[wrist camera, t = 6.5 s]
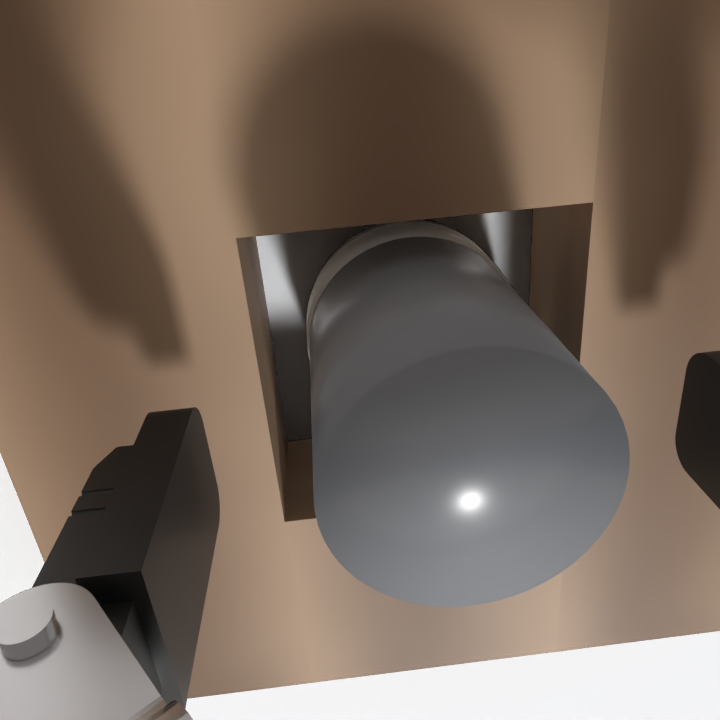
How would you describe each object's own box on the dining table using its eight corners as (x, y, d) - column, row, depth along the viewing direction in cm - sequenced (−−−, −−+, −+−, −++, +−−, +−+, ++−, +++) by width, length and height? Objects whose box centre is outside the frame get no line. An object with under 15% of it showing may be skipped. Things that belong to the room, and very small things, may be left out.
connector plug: (502, 206, 14) (652, 324, 8) (498, 388, 16) (616, 589, 10) (294, 228, 13) (288, 364, 8) (318, 409, 15) (327, 626, 10)
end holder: (822, -143, 11) (984, -204, 9) (687, 542, 18) (753, 626, 16) (-93, -69, 11) (-227, -109, 8) (134, 609, 18) (104, 709, 15)
